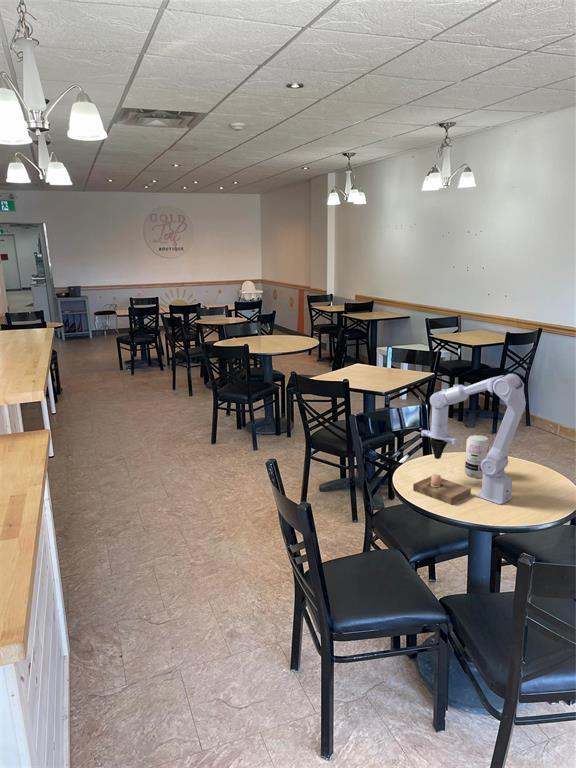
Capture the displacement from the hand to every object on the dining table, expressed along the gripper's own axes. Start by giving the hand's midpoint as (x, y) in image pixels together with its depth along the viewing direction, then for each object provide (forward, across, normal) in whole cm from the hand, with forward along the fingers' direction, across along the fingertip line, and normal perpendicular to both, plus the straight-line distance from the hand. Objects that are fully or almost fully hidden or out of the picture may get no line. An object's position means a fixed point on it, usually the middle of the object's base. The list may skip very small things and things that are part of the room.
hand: (437, 458), depth 206 cm
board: (+9, -7, +7) cm, 14 cm away
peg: (+9, -5, +8) cm, 13 cm away
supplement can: (+10, -6, -17) cm, 20 cm away
